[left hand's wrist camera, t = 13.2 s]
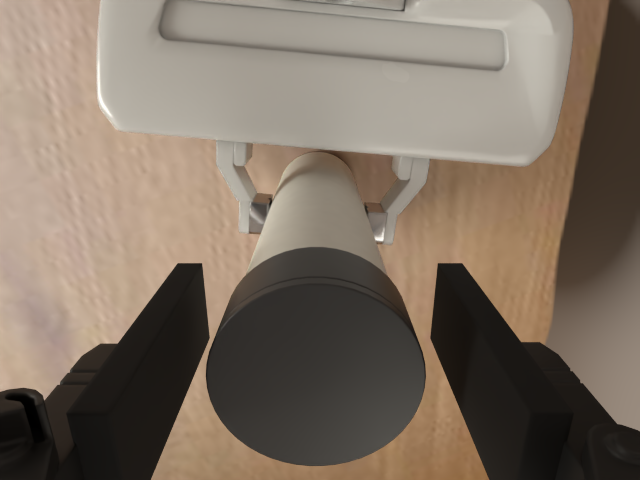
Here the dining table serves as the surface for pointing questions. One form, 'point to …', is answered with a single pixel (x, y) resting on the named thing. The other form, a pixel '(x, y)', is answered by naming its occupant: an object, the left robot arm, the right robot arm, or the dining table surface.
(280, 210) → the cream white bottle
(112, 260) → the dining table surface
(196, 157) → the dining table surface
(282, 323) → the lid
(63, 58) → the dining table surface
